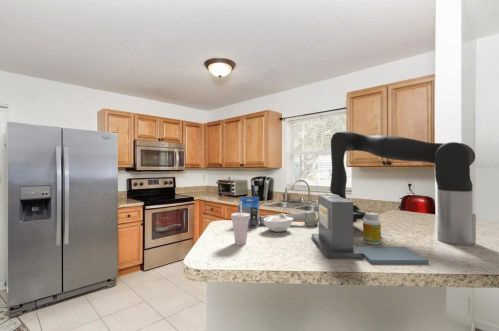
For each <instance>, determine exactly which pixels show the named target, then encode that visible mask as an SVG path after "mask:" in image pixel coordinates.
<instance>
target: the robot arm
mask: <svg viewBox="0 0 499 331" xmlns="http://www.w3.org/2000/svg"><path fill="white" fill-rule="evenodd" d="M351 151H357V152H365V153H369V154H371V155H373V156H375V157H379V158H382V159H386V160H387V159H388V160H395V161H404V162H405V161H407V162H422V163H423V162H424V163H430V164H434V176H435V182H436V185H437V186H436V187H437V189H436V190H437V240H439V241H440V242H443V243H446V244H451V245H458V246H459V245H460V246H471V245H475V244H476V243H477V241H476V240H477V215H476V214H475V213H473V209H474V208H473V203H474V202H473V199H474V198H473V197H474V196H473V192H474V191H473V189H474V188H473V187H474V186H473V185H474V184H473V182H472V179H471V169H470V166H471V165H472V164H473V163H474V161H475V160H476V153H475V151H474V149H473V148H472V147H471V146H470V145H467V144H465V143H462V142H456V141H455V142H454V141H451V142H446V143H443V142H428V141H423V140H418V139H413V138H409V137H403V136H395V135H394V136H393V135H382V134H375V135H373V134H372V135H368V134H362V133H357V132H352V131H349V130H345V131H342V130H341V131H335V133H333V134H332V136H331V140H330V154H331V176H330V179H331V180H330V187H329V188H330V189H329V191H330V193H331V195H337V196H339V197H342V198H344V199H347V196H346V188H347V181H348V180H347V179H348V178H347V172H346V167H345V156H346V155H345V154H346V152H351ZM367 212H371V213H374V212H372V211H362V210H361V209H360V208H359V206H357V205H355V204H353V224H354V223H356V222H358V221H361V222H363V220H364V219H366V217H365V213H367Z"/></svg>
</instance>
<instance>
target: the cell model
mask: <svg viewBox="0 0 499 331" xmlns="http://www.w3.org/2000/svg"><path fill="white" fill-rule="evenodd" d="M285 214H286V213H283V212H281V213H280V214H279V215H280V216H269V217H266V218H264V224H265V225H264V226H265V227H266V228H267V229H269V231H271V232H272V231H273V232H274V233H275V232H276V233H277V232H285V231H287V230H288V229H289V228H290V226H291V225H292V224H293V223H292V222H294V221H293V218H291V217H287V216H286V215H285Z"/></svg>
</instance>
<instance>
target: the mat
mask: <svg viewBox="0 0 499 331" xmlns="http://www.w3.org/2000/svg"><path fill="white" fill-rule="evenodd" d="M354 246H355V247H356V248H358V249H359V250H360V251H361V252H362V253H363V259H365V260H366V262H368V263H369V264H371V265H374V264H375V265H377V264H381V265H383V264H384V265H385V264H387V265H390V264H391V265H394V264H396V265H400V264H401V265H402V264H403V265H404V264H405V265H412V264H413V265H418V264H419V265H420V264H421V265H422V264H423V265H428V264H429V262H430V261H429V259H428V258H427V257H424V256H422V255H420V254H419V253H417V252H416V251H415V252H414V251H413V250H412V249H410V248H408V247H406V246H374V245H372V246H371V245H370V246H356V245H354Z"/></svg>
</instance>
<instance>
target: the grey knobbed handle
mask: <svg viewBox="0 0 499 331" xmlns="http://www.w3.org/2000/svg"><path fill="white" fill-rule="evenodd" d="M284 214H285V215H286V216H287V217H291V218H293V221H292V222H298V221H303V222H304V226H307V227H308V226H310V227H314V226H317V225H318V226H319V216H316V213H315V211H314V210H308V211H305V212H298V213H297V212H295V213H284ZM269 216H280V214H271V215H270V214H269V215H268V214H266V215H261V216H260V215H259V226H265V224H264V218H266V217H269Z"/></svg>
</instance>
